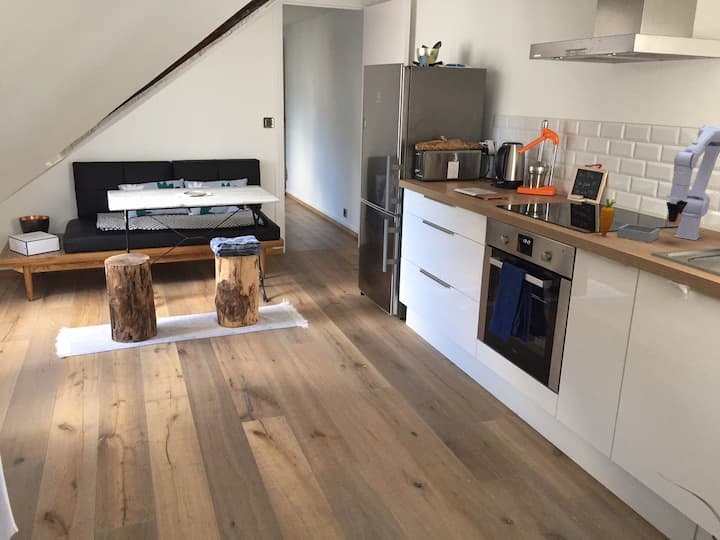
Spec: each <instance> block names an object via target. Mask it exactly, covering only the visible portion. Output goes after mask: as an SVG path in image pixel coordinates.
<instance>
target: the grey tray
mask: <svg viewBox="0 0 720 540" xmlns="http://www.w3.org/2000/svg"><path fill="white" fill-rule="evenodd" d="M660 231H661V228H658V227H652V226H647V225H646V226H645V225H640V224H634V223H627V224H624V225H622V226H619V227H617V232H616V238H621V239H627V240H632V241H638V242H643V243H649V244H650V243H652V242H653V241H655V240H656V239H658V238H659V237H660V234H661V232H660Z"/></svg>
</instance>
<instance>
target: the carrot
mask: <svg viewBox="0 0 720 540" xmlns="http://www.w3.org/2000/svg"><path fill="white" fill-rule="evenodd" d="M605 201H606V206H603V207H602V208H601V211H600V220H599V224H600V226H599V227H600V232H601V235H602V237H605V236H606V235H607V234H608V233H609V231H610V229H611V226H612V223H613V220H614V216H615V209H614V208H613V207H612V206H613V205H614V204H616V203H617V202H616V201H615V199H614V198H613V199H612V200H611V201H610V198H609V197H607V198H606V200H605Z"/></svg>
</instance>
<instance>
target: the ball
mask: <svg viewBox="0 0 720 540" xmlns="http://www.w3.org/2000/svg"><path fill="white" fill-rule="evenodd" d="M681 220H682V216H681V214H680V213H679V214H678V217H677V219H676V221H675V222H669V217H668V214H667V216H666V221H667V223H668V224H670V225H672V226H673V225H674V226H675V225H679V223H680V222H681Z"/></svg>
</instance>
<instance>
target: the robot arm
mask: <svg viewBox="0 0 720 540" xmlns="http://www.w3.org/2000/svg"><path fill="white" fill-rule="evenodd" d="M719 154H720V126H714V125H706V124H703V125H702V126H700V128H699V129H698V132H697V139H696V140H695V141H694V140H693V141H692V142H690V143H689V144H688V145H687V146H686V148H685V149H684V150H682V151H679V152H677V153H676V154H675V156H674V159H673V165H674V166H673V172H674V174H673V178H672V184H671V189H670V193H669V194H667V195H666V196H665V197H666V198H669V199H670V201H667V202H666V203H665V204H666V207H667V211H668V214H667V215H668V217H669V222H675V221H676V219H677V217H678V214H679V213H680V214H681V216H682V220H681V222H680V223H678V227H677V232H676V234H674V235H673V237H675V238H680V239H686V240H692V241H696V240H698V239H699V238H701V235H699V230H700V226H701V222H702V217H704V216H706V215H707V213H708V211H709V207H710V203H711V199H710V197H709V195H708V194H707V193H706V190H707V187H708V185H709V181H710V179H711V177H712V173H713V170H714V168H715V165H716V162H717V160H718V157H719ZM702 155H703V157H702V158H701V162H700V165H699V167H698V170H697V172H696V175H695V179H694V181H693V185H692V186H691V189H690V185H691V180H692V175H693V171H694V169H695V168H696V167H697V164H698V162H699V159H700V157H701V156H702Z"/></svg>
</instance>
